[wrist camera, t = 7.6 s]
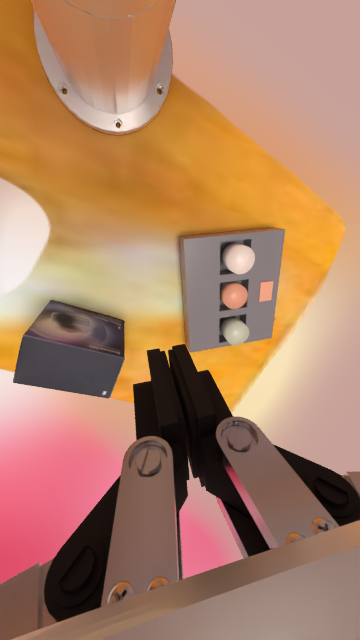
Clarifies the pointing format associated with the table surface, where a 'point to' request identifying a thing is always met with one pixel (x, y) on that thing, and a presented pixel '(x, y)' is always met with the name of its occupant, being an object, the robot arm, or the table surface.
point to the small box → (72, 351)
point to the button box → (209, 274)
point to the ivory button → (238, 258)
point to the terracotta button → (233, 294)
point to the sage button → (234, 331)
